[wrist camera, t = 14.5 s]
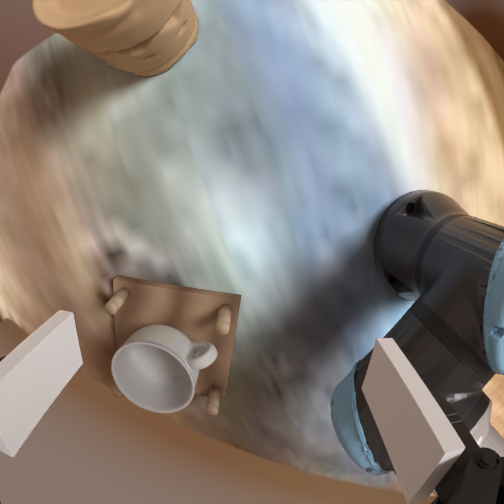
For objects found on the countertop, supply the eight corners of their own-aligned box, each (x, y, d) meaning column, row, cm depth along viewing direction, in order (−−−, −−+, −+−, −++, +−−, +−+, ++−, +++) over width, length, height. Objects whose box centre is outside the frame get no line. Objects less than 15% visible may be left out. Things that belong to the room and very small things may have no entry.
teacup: (147, 381, 43) (132, 416, 36) (118, 320, 41) (95, 350, 33) (234, 368, 43) (232, 406, 35) (211, 301, 40) (203, 332, 32)
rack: (240, 295, 41) (239, 318, 35) (226, 392, 46) (223, 421, 39) (117, 275, 40) (97, 293, 34) (121, 373, 45) (107, 398, 39)
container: (216, 9, 31) (195, -76, 14) (170, 89, 34) (111, 40, 17) (135, -10, 29) (83, -78, 12) (92, 65, 32) (10, 24, 15)
